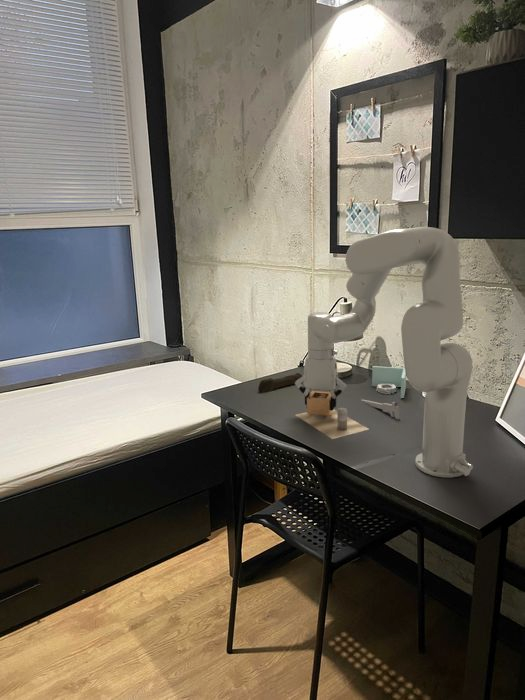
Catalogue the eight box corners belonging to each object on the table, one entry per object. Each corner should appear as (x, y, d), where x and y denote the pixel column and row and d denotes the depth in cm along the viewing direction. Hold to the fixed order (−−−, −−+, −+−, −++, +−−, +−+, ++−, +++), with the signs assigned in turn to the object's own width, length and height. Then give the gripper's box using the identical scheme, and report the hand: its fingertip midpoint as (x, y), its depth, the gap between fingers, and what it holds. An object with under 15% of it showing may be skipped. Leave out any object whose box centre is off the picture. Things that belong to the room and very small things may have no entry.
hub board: (369, 432, 150) (369, 410, 149) (332, 442, 145) (332, 419, 143) (329, 409, 169) (329, 389, 167) (295, 417, 163) (294, 397, 161)
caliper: (399, 422, 157) (400, 403, 156) (396, 423, 157) (397, 404, 155) (360, 402, 175) (360, 384, 174) (358, 402, 175) (358, 385, 173)
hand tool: (297, 381, 199) (297, 370, 198) (303, 384, 196) (303, 372, 195) (255, 391, 190) (254, 379, 189) (260, 394, 187) (260, 382, 185)
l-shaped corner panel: (372, 385, 191) (372, 366, 189) (405, 387, 187) (406, 368, 185) (368, 396, 180) (368, 375, 178) (403, 399, 176) (404, 378, 174)
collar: (333, 407, 163) (333, 392, 162) (329, 415, 157) (329, 400, 155) (312, 405, 165) (312, 390, 164) (306, 413, 159) (306, 398, 158)
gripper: (350, 351, 157) (350, 406, 161) (295, 348, 162) (296, 401, 167) (346, 358, 150) (346, 415, 155) (289, 355, 155) (290, 409, 160)
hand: (320, 407), depth 161 cm, fingers closed on collar, 7 cm apart
